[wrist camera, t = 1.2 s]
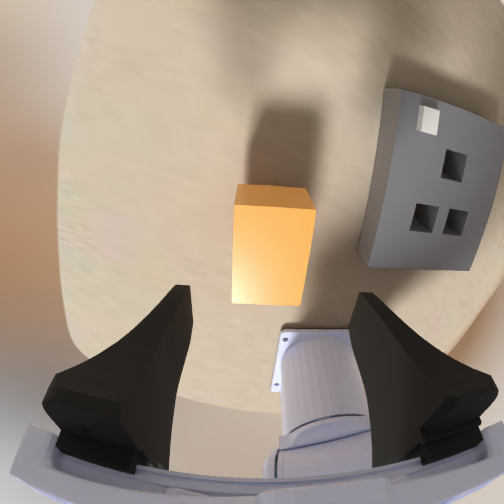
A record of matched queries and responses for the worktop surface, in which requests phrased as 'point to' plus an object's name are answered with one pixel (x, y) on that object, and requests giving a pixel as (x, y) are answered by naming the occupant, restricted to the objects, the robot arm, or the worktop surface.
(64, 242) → the worktop surface
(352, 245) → the worktop surface
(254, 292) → the plug
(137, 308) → the worktop surface
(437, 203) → the socket
